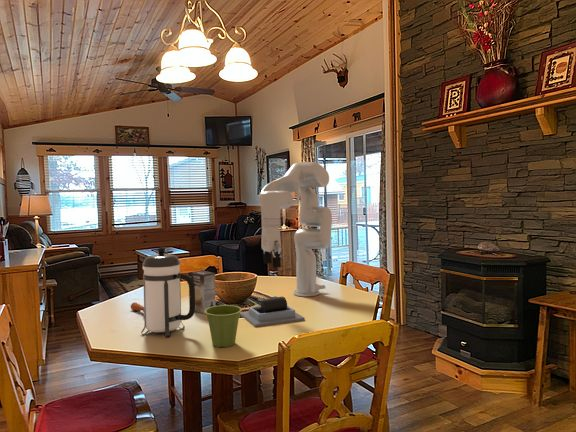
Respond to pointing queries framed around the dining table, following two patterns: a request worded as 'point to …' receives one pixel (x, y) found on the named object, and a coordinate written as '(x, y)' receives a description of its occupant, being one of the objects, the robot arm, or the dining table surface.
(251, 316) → the tray
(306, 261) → the robot arm
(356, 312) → the dining table surface
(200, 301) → the coffee box
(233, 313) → the plant pot
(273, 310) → the black lumpy block
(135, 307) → the kendama
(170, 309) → the coffee press
